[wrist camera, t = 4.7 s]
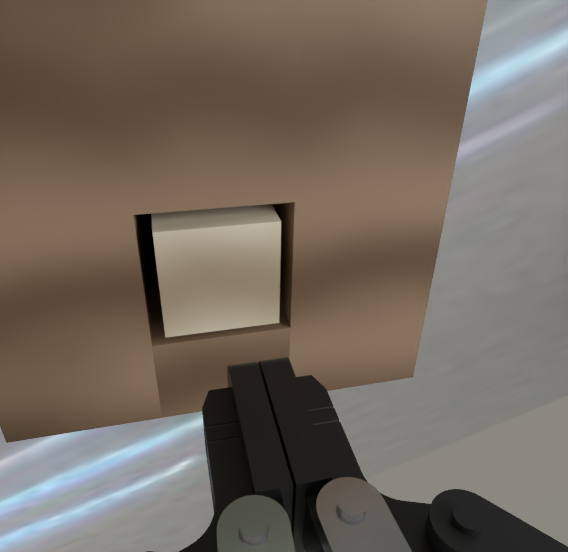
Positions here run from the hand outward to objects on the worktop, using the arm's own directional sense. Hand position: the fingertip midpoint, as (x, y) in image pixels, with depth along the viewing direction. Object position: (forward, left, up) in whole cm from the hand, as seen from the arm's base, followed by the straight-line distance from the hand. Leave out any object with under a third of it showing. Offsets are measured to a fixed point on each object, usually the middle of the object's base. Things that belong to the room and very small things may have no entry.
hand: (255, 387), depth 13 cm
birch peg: (0, 0, -13) cm, 13 cm away
